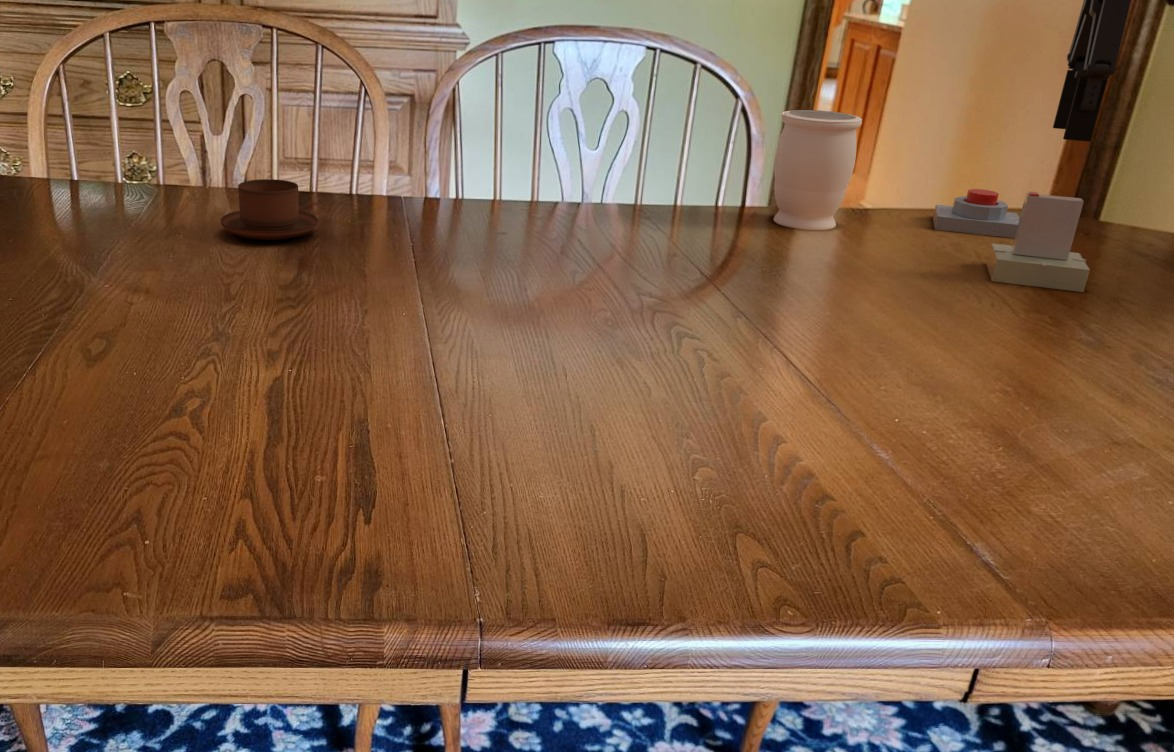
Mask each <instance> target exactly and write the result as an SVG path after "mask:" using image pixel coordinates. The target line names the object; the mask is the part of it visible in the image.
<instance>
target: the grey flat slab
mask: <svg viewBox="0 0 1174 752" xmlns="http://www.w3.org/2000/svg"><path fill="white" fill-rule="evenodd" d="M1084 203H1085V201H1084V200H1083V199H1082V198H1081V197H1080V198H1079V197H1071V196H1059V195H1050V194H1039V192H1037V191H1027V193H1025V195H1024V199H1023V204H1022V207H1021V212H1020V215H1019V218H1020V219H1019V223H1018V227H1017V231H1016V235H1015V238H1013V239H1014V240H1013V243H1012V246H1013V247H1012V253H1013V254H1016V255H1025V256H1034V257H1043V258H1052V259H1061V260H1068V257H1069V253H1070V252H1071V250H1072V246H1073V242H1074V238H1075V235H1076V231H1077V227H1078V223H1079V221H1080V218H1081V217H1080V216H1081V213H1082V210H1083V205H1084Z"/></svg>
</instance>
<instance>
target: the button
mask: <svg viewBox="0 0 1174 752" xmlns="http://www.w3.org/2000/svg"><path fill="white" fill-rule="evenodd" d="M999 195H1000V194H999V192H997V191H994V190H989V189H981V188H971V189H968V190H967V193H966V196H967V197H966V202H968V203H972V204H977V205H986V206H988V205H996V203H997V200H999V199H998V198H999Z"/></svg>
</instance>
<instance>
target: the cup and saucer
mask: <svg viewBox="0 0 1174 752" xmlns="http://www.w3.org/2000/svg"><path fill="white" fill-rule="evenodd" d="M237 190H238V192H237V193H238V206H239V210H237V211H232V212H230V213H227V214H225V215H223V216H221V218H220V225H221V226H222V227H223V228H224V229H225V230H226V231H227V232H229V233H230V234H233V235H235V236H238V237H241V238H245V239H251V240H260V241H261V240H262V241H277V240H278V241H280V240H287V239H294V238H298V237H301V236H305V235H307V234H309V233H310V232H312V231H313V230H314V229H315V228H316V227H317V226H318V223H319V219H318V217H317V216H316V215H314V214H312V213H309V212H307V211H302V210H299V207H300V206H299V184H298V183H296V182H294V181H290V180H284V179H275V178H274V179H272V178H265V179H252V180H245V181H241V182H239V183H238V185H237Z"/></svg>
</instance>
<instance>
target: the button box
mask: <svg viewBox="0 0 1174 752" xmlns="http://www.w3.org/2000/svg"><path fill="white" fill-rule="evenodd" d="M966 197H967V195H966V196H965V195H964V196H963V195H961V196H957V197H954V199H953V203H952V205H943V204H935V206H934V210H933V215H932V221H933V227H934V230H936V231H945V232H953V233H962V234H970V235H971V234H973V235H980V236H982V235H983V236H988V237H989V236H990V237H1001V238H1008V239H1015V235H1016V231H1017V227H1018V223H1019V219H1020V215H1019V214H1018V213H1017V212H1011V211H1008V207H1009V205H1008V203H1007V202H1005V201H1003V200H999V199H997V203H996V205H988V206H986V205H977V204H972V203H968V202H966Z"/></svg>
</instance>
